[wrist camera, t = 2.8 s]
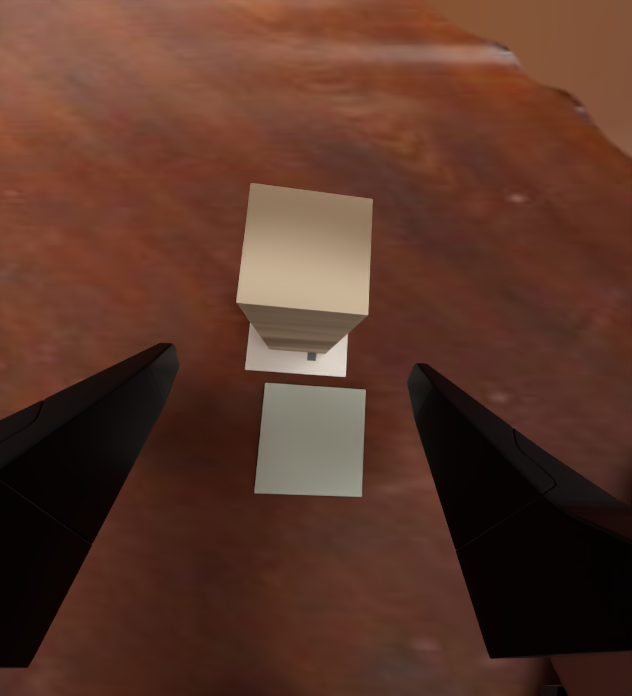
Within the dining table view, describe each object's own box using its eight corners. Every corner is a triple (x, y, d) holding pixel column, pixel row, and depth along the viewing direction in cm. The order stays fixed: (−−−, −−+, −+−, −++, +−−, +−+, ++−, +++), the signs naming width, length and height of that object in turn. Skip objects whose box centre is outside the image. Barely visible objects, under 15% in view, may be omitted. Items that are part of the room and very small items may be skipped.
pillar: (325, 353, 20) (368, 315, 9) (269, 349, 20) (236, 302, 8) (328, 300, 21) (372, 199, 9) (274, 295, 20) (251, 182, 9)
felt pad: (359, 493, 19) (361, 496, 19) (255, 490, 18) (254, 493, 18) (364, 389, 20) (365, 389, 20) (266, 382, 20) (265, 382, 19)
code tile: (256, 275, 21) (255, 273, 20) (349, 285, 21) (350, 283, 21) (245, 369, 20) (244, 369, 19) (344, 377, 20) (345, 377, 20)
